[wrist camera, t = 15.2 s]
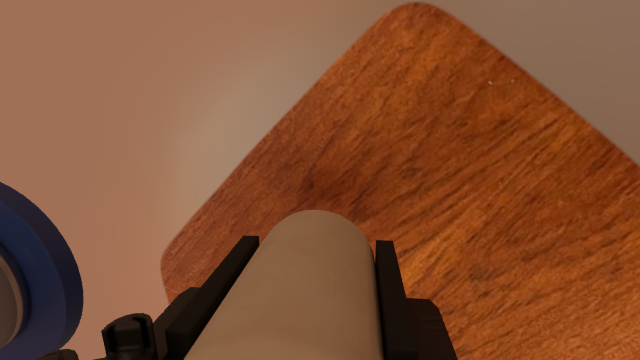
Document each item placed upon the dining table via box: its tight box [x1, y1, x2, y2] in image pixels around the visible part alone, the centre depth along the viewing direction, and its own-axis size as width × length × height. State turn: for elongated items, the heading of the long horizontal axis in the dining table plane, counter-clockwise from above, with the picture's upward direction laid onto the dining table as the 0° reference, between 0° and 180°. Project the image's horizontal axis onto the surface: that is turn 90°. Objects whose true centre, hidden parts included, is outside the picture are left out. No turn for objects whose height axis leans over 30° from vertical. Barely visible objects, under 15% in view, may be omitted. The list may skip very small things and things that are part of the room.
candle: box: [184, 210, 385, 360], centre depth 11 cm, size 6×6×10 cm
